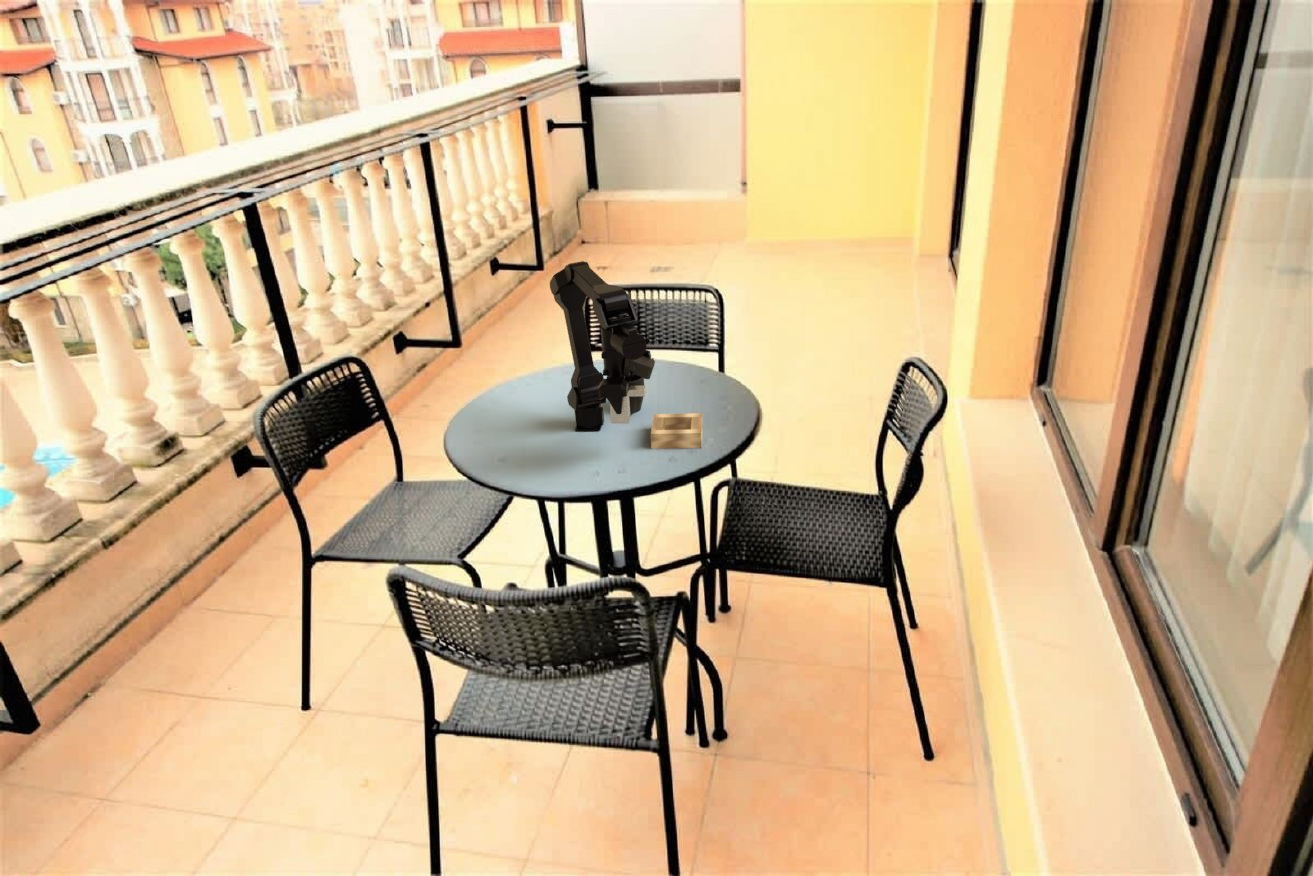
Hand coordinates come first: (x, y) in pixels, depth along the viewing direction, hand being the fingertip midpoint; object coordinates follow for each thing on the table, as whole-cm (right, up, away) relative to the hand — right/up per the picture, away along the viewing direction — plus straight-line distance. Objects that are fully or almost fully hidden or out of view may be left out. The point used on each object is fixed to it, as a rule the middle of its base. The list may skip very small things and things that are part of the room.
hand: (620, 409), depth 193 cm
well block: (+13, -7, +13) cm, 20 cm away
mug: (+2, 0, +28) cm, 28 cm away
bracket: (+2, -2, +1) cm, 3 cm away
